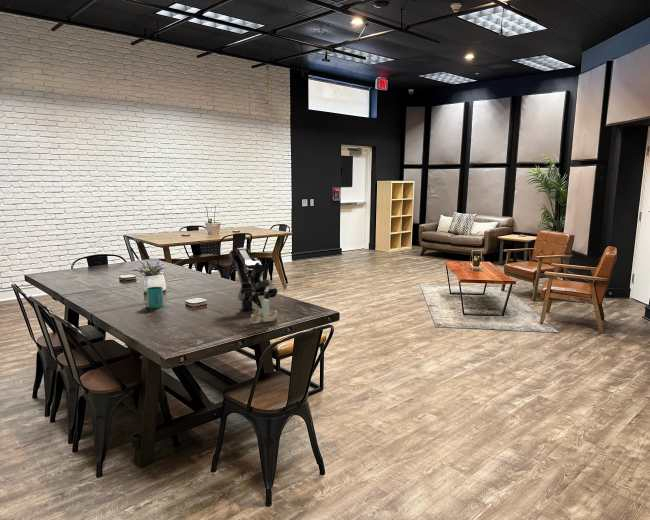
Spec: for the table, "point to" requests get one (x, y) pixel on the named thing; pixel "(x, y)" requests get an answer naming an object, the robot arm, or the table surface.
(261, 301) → the tall green pillar
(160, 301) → the cup
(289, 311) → the table surface
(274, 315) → the birch rail
